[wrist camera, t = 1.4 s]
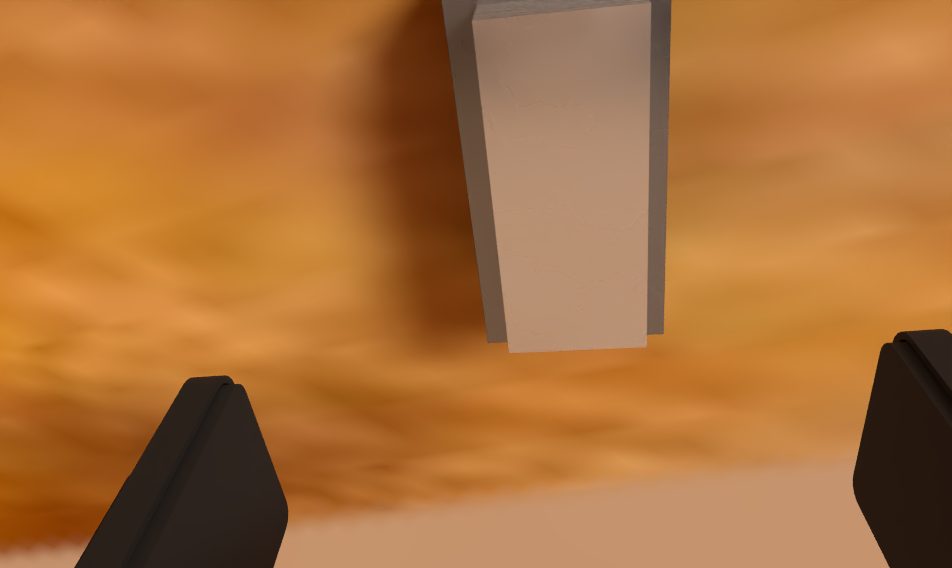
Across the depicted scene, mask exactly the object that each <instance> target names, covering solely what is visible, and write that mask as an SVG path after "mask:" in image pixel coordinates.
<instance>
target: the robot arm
mask: <svg viewBox="0 0 952 568" xmlns="http://www.w3.org/2000/svg"><path fill="white" fill-rule="evenodd" d="M853 489H854V494H855V497H856V500H857V503H858V505H859V507H860V509H861V511H862V513H863V515H864V517H865V519H866V521H867V523H868V525H869V527H870V529H871V531H872V533H873V535H874V537H875V539H876V541H877V543H878V545H879V547H880V549H881V551H882V553H883V555H884V557H885V559H886V561H887V563H888V565H889V567H890V568H952V334H951V333H950V332H949V331H947V330H944V329H936V330H920V331H905V332H900V333H898V334H897V335H896V336H895V337H894V340H893V343H886V344H884V345H883V346H882V348H881V351H880V355H879V360H878V365H877V369H876V374H875V378H874V383H873V387H872V392H871V397H870V401H869V406H868V410H867V415H866V419H865V424H864V429H863V433H862V438H861V442H860V447H859V452H858V456H857V461H856V465H855V470H854V474H853ZM287 522H288V505H287V502H286V499H285V496H284V493H283V491H282V488H281V485H280V483H279V480H278V477H277V474H276V472H275V469H274V466H273V464H272V461H271V458H270V455H269V453H268V450H267V447H266V445H265V442H264V439H263V437H262V434H261V431H260V428H259V426H258V423H257V420H256V418H255V415H254V412H253V409H252V407H251V404H250V401H249V399H248V396H247V393H246V391H245V389H244V387H243V386H242V385H241V384H234V382H233V380H232V379H231V378H230V377H229V376H225V375H224V376H209V377H194V378H190V379H188V380H187V381H186V382H185V383H184V385H183V386H182V388H181V390H180V391H179V393H178V395H177V397H176V398H175V400H174V402H173V403H172V405H171V407H170V408H169V410H168V412H167V414H166V415H165V417H164V419H163V420H162V422H161V424H160V425H159V427H158V429H157V430H156V432H155V434H154V436H153V437H152V439H151V441H150V442H149V444H148V446H147V447H146V449H145V451H144V453H143V454H142V456H141V458H140V459H139V461H138V463H137V464H136V466H135V468H134V470H133V471H132V473H131V474H130V476H129V477H128V478H127V479H126V481H125V483H124V484H123V486H122V488H121V490H120V491H119V493H118V495H117V496H116V498H115V500H114V501H113V503H112V505H111V506H110V508H109V510H108V512H107V513H106V515H105V517H104V518H103V520H102V522H101V523H100V525H99V527H98V528H97V530H96V532H95V534H94V535H93V537H92V539H91V540H90V542H89V544H88V545H87V547H86V549H85V551H84V552H83V554H82V556H81V557H80V559H79V561H78V562H77V564H76V566H75V567H74V568H273V567H274V564H275V561H276V558H277V554H278V551H279V548H280V546H281V543H282V539H283V536H284V533H285V530H286V527H287Z"/></svg>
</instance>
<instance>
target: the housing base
mask: <svg viewBox="0 0 952 568" xmlns="http://www.w3.org/2000/svg"><path fill="white" fill-rule="evenodd" d="M511 1H521V0H442V7H443V15H444V22H445V29H446V37H447V44H448V52H449V59H450V66H451V74H452V81H453V88H454V96H455V103H456V111H457V118H458V125H459V133H460V140H461V148H462V155H463V162H464V170H465V177H466V184H467V192H468V199H469V207H470V214H471V221H472V229H473V236H474V244H475V251H476V258H477V266H478V273H479V280H480V288H481V295H482V303H483V310H484V317H485V325H486V332H487V340H488V343H492V342H508V339H507V330H506V321H505V312H504V303H503V294H502V285H501V276H500V267H499V258H498V249H497V240H496V231H495V222H494V214H493V205H492V196H491V187H490V178H489V169H488V160H487V151H486V142H485V133H484V124H483V115H482V106H481V97H480V88H479V79H478V71H477V62H476V53H475V44H474V35H473V26H472V19H473V16H474V13H475V10H476V7H477V5H482V4H492V3H502V2H511ZM650 2H651V50H650V126H649V202H648V278H647V335H651V334H664V291H665V248H666V205H667V162H668V119H669V75H670V32H671V0H650Z"/></svg>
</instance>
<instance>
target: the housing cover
mask: <svg viewBox="0 0 952 568" xmlns="http://www.w3.org/2000/svg"><path fill="white" fill-rule="evenodd" d="M472 26H473V35H474V44H475V53H476V62H477V71H478V79H479V88H480V97H481V106H482V115H483V124H484V133H485V142H486V151H487V160H488V169H489V178H490V187H491V196H492V205H493V214H494V222H495V231H496V240H497V249H498V258H499V267H500V276H501V285H502V294H503V303H504V312H505V321H506V330H507V339H508V348H509V353H523V352H545V351H568V350H590V349H613V348H635V347H647V278H648V202H649V126H650V50H651V2H650V0H521V1H511V2H502V3H492V4H482V5H477V7H476V10H475V13H474V16H473V19H472Z"/></svg>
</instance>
